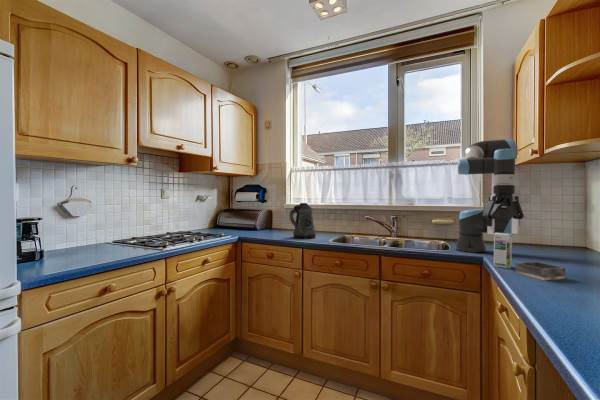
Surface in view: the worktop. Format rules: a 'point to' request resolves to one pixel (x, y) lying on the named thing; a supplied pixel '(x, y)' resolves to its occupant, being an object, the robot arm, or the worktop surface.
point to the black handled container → (303, 222)
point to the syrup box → (503, 250)
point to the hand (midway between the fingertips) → (503, 233)
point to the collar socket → (540, 270)
